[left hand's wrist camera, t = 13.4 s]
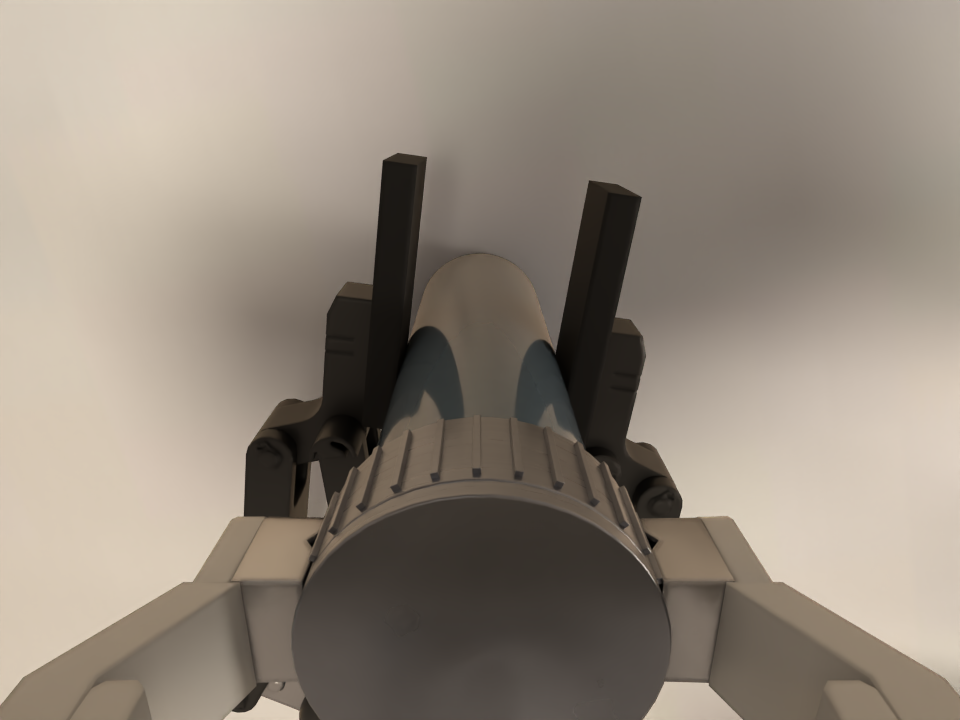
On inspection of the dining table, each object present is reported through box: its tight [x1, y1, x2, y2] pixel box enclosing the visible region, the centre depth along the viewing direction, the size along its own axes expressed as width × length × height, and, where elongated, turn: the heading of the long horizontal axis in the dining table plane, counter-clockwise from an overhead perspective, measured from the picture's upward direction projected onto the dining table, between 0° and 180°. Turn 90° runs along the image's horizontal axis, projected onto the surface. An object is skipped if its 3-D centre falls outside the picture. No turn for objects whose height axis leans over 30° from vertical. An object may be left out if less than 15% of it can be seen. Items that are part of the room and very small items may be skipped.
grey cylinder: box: [377, 253, 586, 451], centre depth 16 cm, size 4×4×15 cm
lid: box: [291, 415, 672, 720], centre depth 9 cm, size 5×5×2 cm
